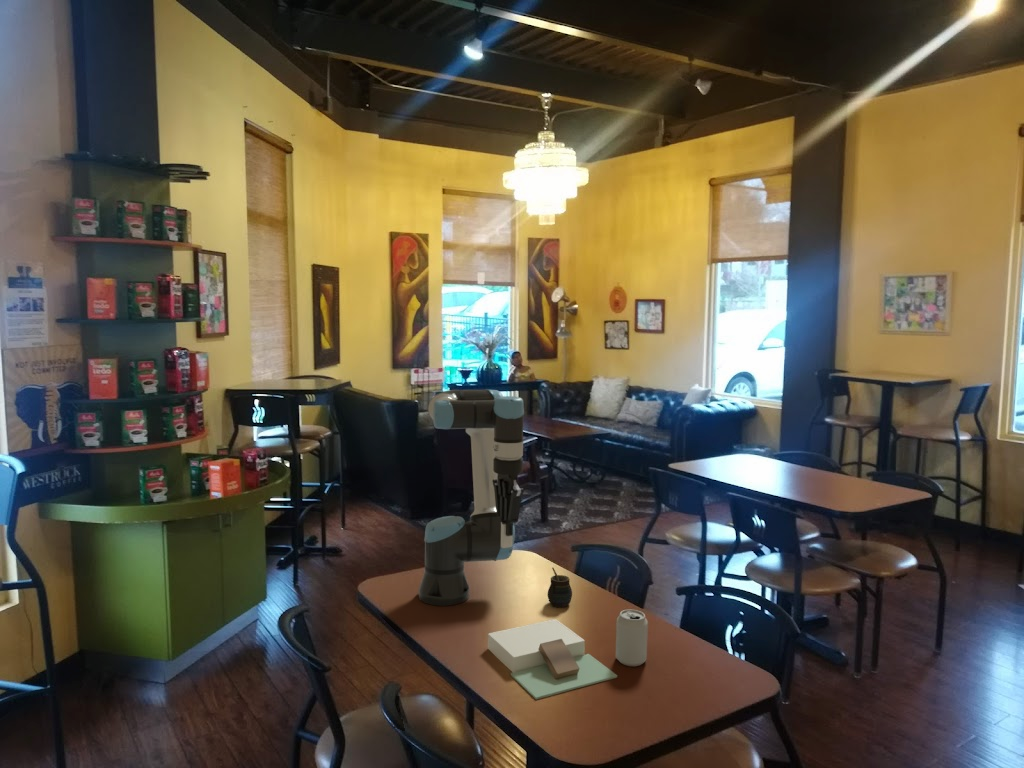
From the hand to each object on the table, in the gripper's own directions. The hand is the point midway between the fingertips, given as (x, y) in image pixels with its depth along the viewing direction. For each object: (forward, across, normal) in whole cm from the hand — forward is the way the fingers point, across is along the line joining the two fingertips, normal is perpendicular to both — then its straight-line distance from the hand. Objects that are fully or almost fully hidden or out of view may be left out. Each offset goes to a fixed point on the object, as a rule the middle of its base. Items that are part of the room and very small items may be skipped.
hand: (506, 546), depth 187 cm
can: (+25, +25, +22) cm, 41 cm away
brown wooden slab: (+22, +22, +3) cm, 31 cm away
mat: (+24, +24, +3) cm, 35 cm away
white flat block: (+24, +11, +3) cm, 27 cm away
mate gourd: (+25, -12, +24) cm, 36 cm away
